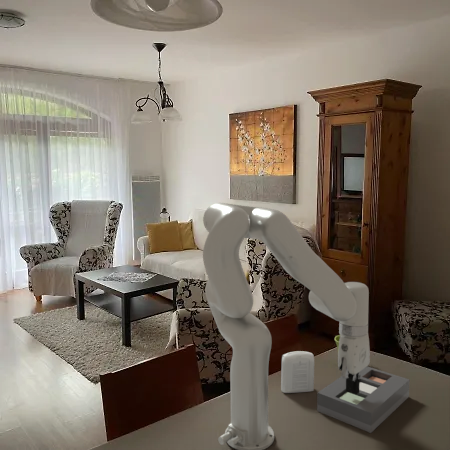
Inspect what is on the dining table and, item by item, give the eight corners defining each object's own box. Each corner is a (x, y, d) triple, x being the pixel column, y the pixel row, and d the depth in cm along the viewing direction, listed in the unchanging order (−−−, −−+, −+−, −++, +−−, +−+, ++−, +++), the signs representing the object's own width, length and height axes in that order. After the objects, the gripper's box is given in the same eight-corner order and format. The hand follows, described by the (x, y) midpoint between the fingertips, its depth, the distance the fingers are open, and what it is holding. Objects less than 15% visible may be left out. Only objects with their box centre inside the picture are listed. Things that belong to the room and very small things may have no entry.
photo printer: (311, 385, 144) (311, 347, 143) (315, 392, 140) (316, 353, 139) (279, 388, 143) (279, 350, 141) (283, 394, 139) (283, 355, 137)
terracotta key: (381, 393, 135) (381, 388, 135) (363, 387, 138) (364, 382, 138) (389, 386, 139) (389, 381, 138) (372, 380, 142) (372, 376, 142)
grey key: (369, 400, 129) (369, 395, 129) (351, 393, 133) (351, 388, 132) (377, 392, 133) (378, 387, 133) (360, 386, 136) (360, 382, 136)
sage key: (355, 411, 123) (355, 406, 123) (337, 404, 127) (337, 399, 127) (365, 403, 127) (365, 398, 127) (346, 396, 131) (347, 391, 130)
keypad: (370, 433, 119) (371, 413, 118) (317, 411, 129) (317, 392, 129) (408, 396, 137) (409, 379, 136) (358, 380, 148) (359, 363, 147)
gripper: (352, 339, 116) (351, 407, 119) (378, 323, 127) (377, 386, 129) (326, 333, 121) (326, 398, 124) (353, 318, 132) (353, 378, 134)
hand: (352, 392), depth 127 cm, fingers closed
